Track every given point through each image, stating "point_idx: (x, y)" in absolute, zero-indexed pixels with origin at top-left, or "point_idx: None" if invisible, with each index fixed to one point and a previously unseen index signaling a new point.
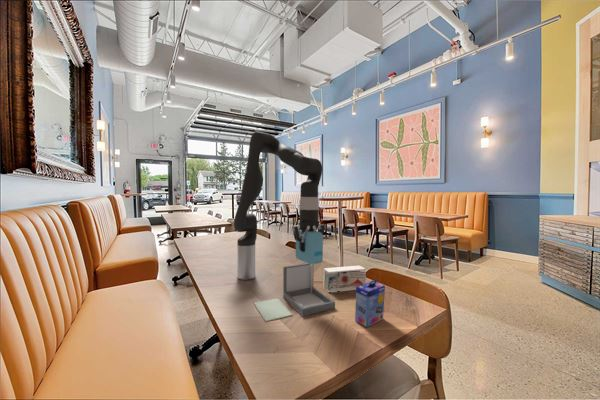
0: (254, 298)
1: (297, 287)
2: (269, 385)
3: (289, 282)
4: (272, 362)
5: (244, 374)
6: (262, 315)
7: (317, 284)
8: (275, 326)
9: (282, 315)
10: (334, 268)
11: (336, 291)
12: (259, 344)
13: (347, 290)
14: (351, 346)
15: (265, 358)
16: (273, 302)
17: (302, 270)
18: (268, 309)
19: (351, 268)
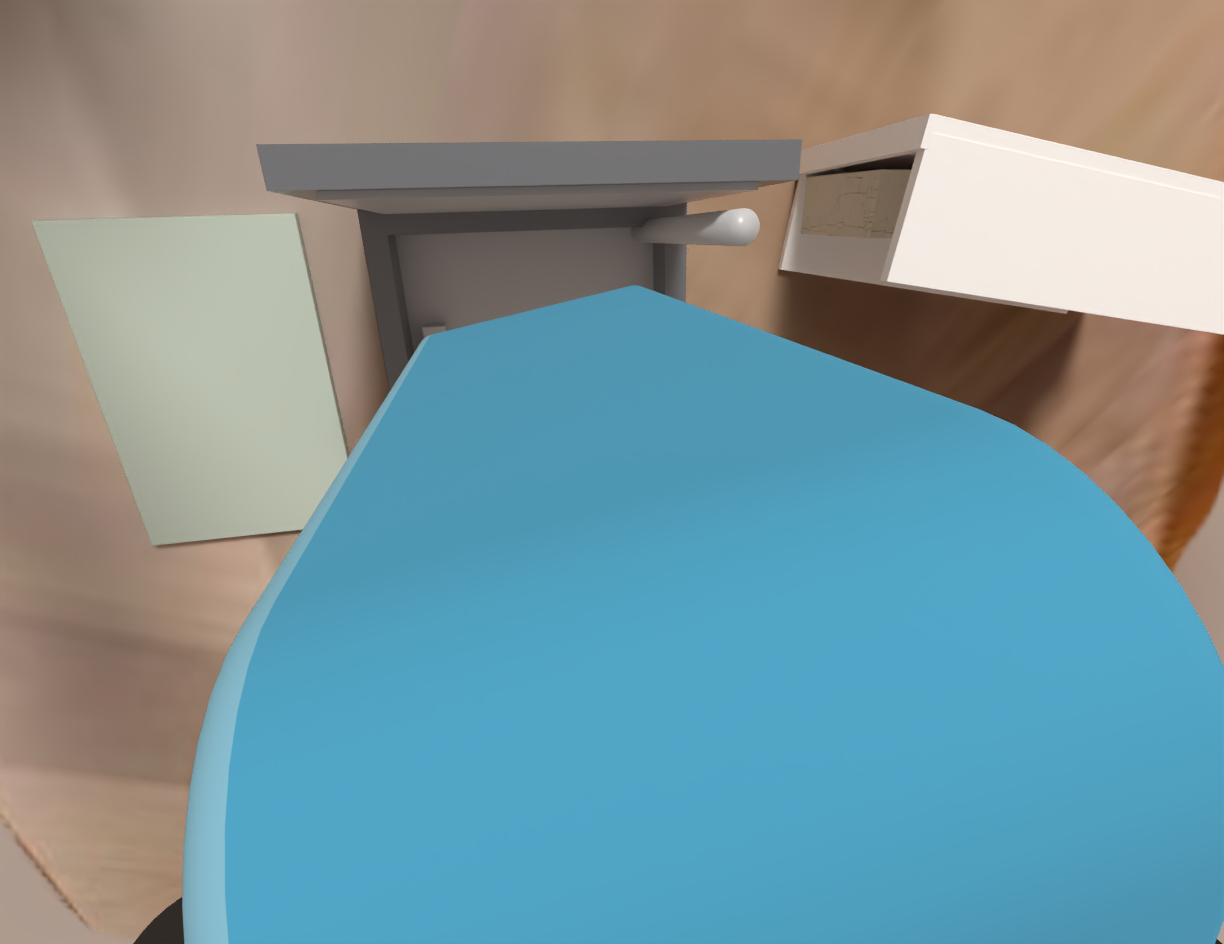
0: (35, 79)
1: (508, 209)
2: (156, 915)
3: (404, 208)
4: (177, 833)
5: (47, 869)
6: (127, 474)
7: (809, 20)
8: (222, 604)
9: (286, 516)
10: (1028, 186)
11: (846, 279)
12: (112, 727)
13: (931, 292)
14: None
15: (144, 810)
16: (242, 287)
17: (592, 196)
18: (183, 398)
19: (1161, 271)
